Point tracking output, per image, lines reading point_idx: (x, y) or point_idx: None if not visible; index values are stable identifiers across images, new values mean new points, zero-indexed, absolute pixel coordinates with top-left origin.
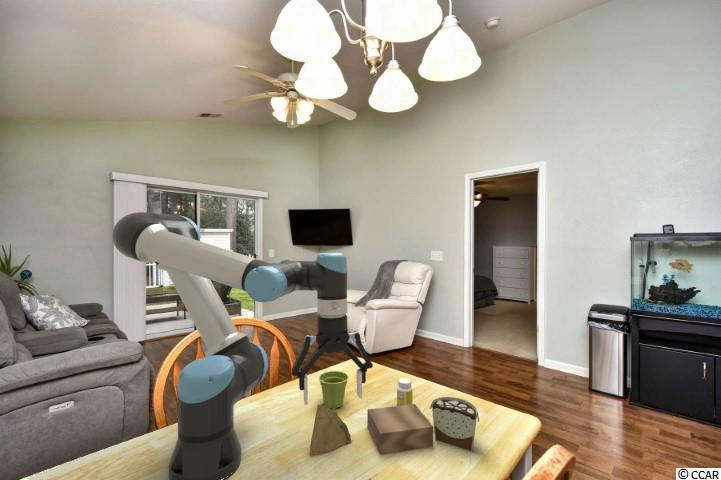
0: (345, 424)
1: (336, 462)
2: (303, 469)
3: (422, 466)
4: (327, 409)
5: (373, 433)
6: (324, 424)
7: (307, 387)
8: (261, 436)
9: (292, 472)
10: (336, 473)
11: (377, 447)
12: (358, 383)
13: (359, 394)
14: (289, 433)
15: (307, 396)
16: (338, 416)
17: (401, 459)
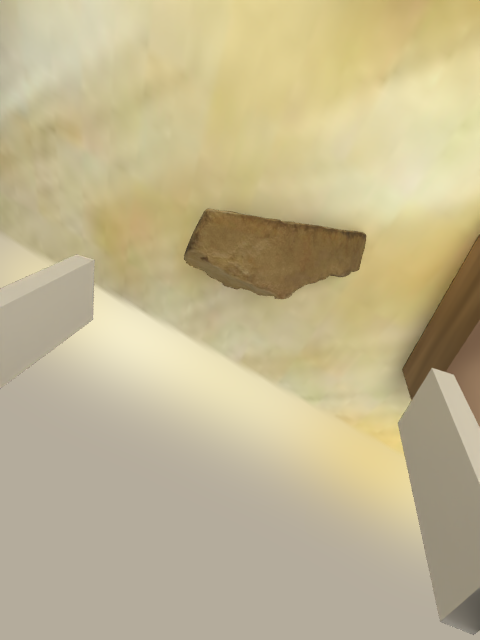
0: (340, 276)
1: (258, 329)
2: (162, 307)
3: None
4: (239, 280)
5: (450, 310)
6: (227, 282)
7: (14, 376)
8: (40, 38)
9: (133, 302)
10: (239, 364)
11: (417, 346)
12: (425, 489)
13: (403, 442)
14: (151, 72)
15: (60, 342)
16: (301, 286)
17: None
